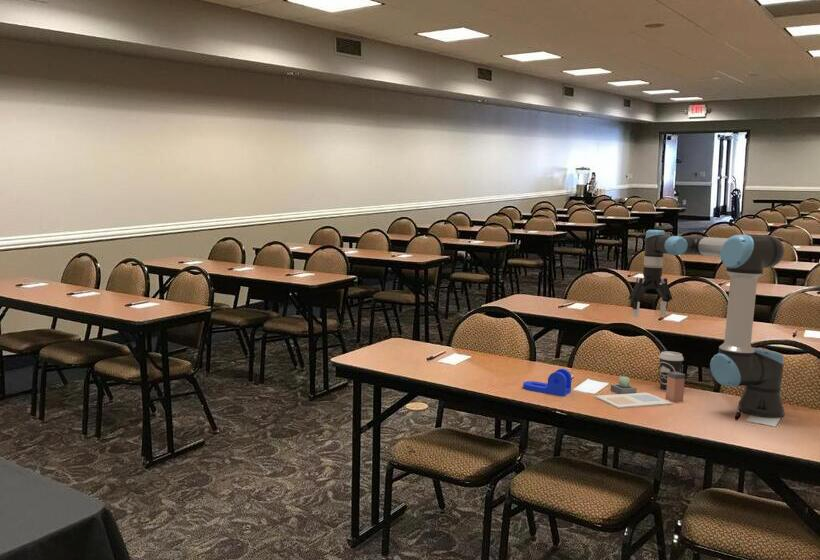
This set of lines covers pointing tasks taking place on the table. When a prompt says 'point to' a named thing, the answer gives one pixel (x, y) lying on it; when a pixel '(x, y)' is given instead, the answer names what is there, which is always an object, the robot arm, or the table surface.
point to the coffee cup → (669, 365)
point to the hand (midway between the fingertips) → (649, 316)
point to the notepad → (633, 400)
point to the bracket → (552, 384)
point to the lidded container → (675, 386)
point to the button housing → (623, 389)
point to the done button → (624, 382)
